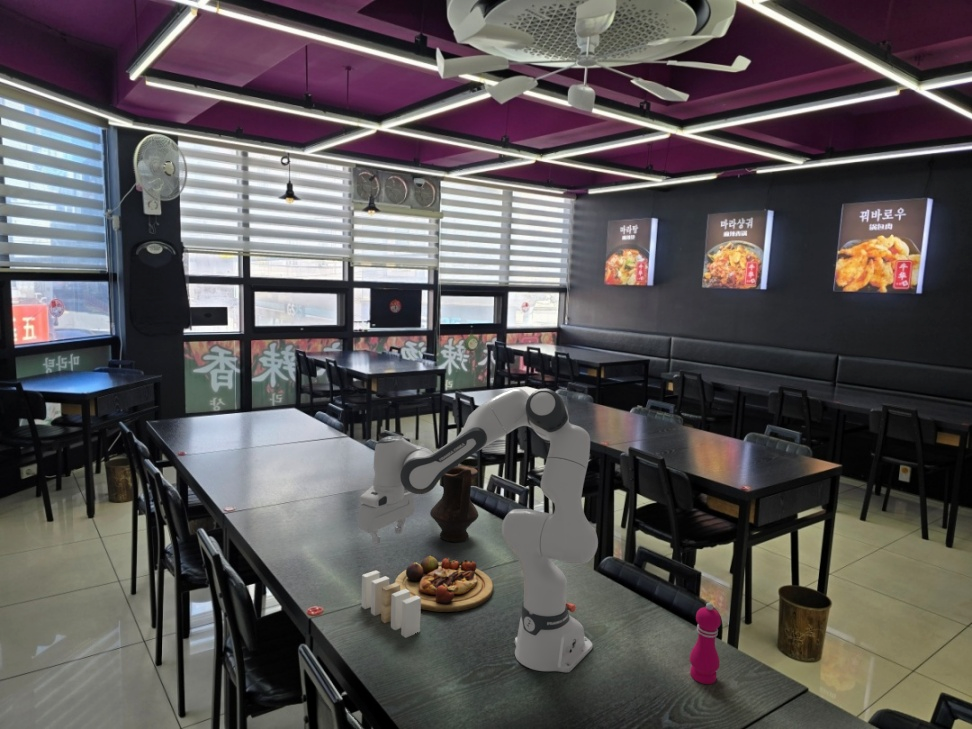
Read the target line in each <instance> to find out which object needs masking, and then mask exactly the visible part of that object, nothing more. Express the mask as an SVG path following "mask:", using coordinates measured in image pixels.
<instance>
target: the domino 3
mask: <svg viewBox="0 0 972 729" xmlns="http://www.w3.org/2000/svg"><path fill="white" fill-rule="evenodd" d="M398 591H400V585H399V584H398V583H391V584H389V585H388V586H385V587H382V604H381V614H380V617H381V618H380V621H381V622H383V623H384V624H386V623H387V624H388V623H389V622H391V596H392V594H393V593H396V592H398Z"/></svg>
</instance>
